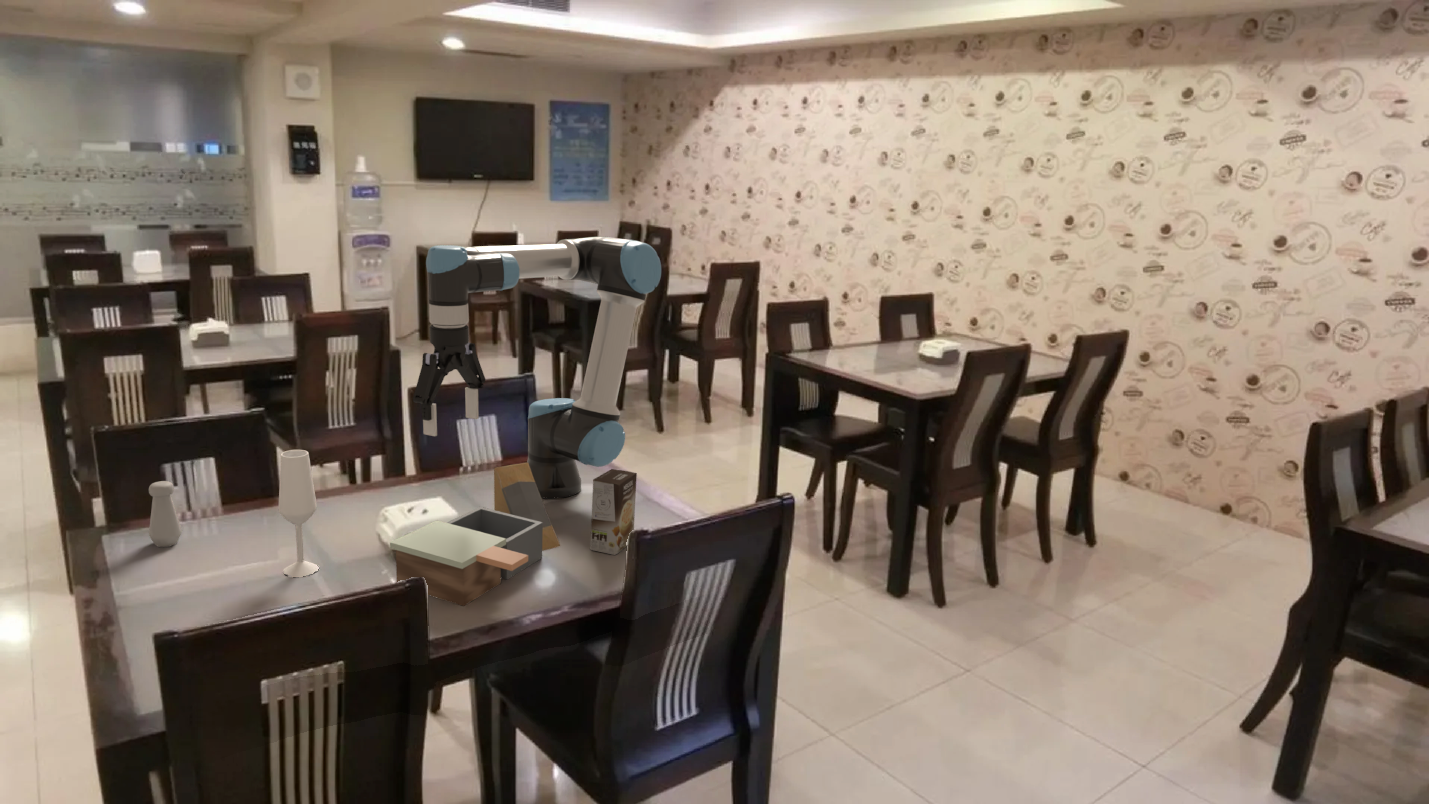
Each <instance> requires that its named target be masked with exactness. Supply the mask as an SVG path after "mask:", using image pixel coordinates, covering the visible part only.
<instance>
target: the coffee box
mask: <svg viewBox="0 0 1429 804" xmlns="http://www.w3.org/2000/svg"><path fill="white" fill-rule="evenodd" d="M637 477H638V474H637V472H633V471H628V470H622V469H615V468H611V469H609V470H607V471H606V472H604V473H602V474H600V475H598V476H597V477H595V478H593V479H592V497H591V498H592V499H591V500H592V503H591V504H592V505H591V524H590V548H589V549H590V550H591V551H594V552H599V553H603V554H604V553H605V554H608V555H611V556H615V555H617V554H619V553H620V552H622V551H623V550H624V549H625V548H626V547H627V546H626V542H627V539H628V536H629V533H630V532H631V531H632V530H634V531H635V515H636V514H635V513H636V511H635V510H636V498H637V497H636V495H637V493H636V492H637ZM623 548H624V549H623Z"/></svg>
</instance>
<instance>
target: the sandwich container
mask: <svg viewBox="0 0 1429 804" xmlns="http://www.w3.org/2000/svg"><path fill="white" fill-rule="evenodd" d="M493 480H494V481H493V490H494V491H493V492H494V494H493V495H494V496H493V499H494V500H493V501H494V503H493V505H494V506H493V507H494V509H493V510H496V511H499V512H503V513H507V514H511V515H515V516H519V517H523V518H527V519H531V520H535V521H539V522H543V535H542V552H544V551H547V550H551V549H556V548H559V547H561V543H560V540H559V538H558V537H557V534H556V531H555V528H554V527H553V524H552V521H551V520H550V517H549V515H548V511H547V510H546V506H545V504H544V500H543V498H541V496H540V493H539V491H538V488H537V486H536V483H535V480H534V478H533V475H532V472H531V469H530V466H529V464H528V463H527V462H522V463H514V464H510V465H508V464H507V465H503V466H498V467H494V468H493Z"/></svg>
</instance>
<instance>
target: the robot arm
mask: <svg viewBox="0 0 1429 804" xmlns="http://www.w3.org/2000/svg"><path fill="white" fill-rule="evenodd" d="M425 259H426V260H425V265H426V266H425V267H426V273H427V288H428V309H429V310H428V311H429V313H428V315H429V316H428V317H429V323H430V324H431V325H430V326H429V343H430V344H431V345H433V348H434V349H433V353H429V352H424V353H423V354H422V365H421V367H420V372H419V376H418V379H417V383H416V385H415V390H414V393H413V396H412V402H414V403H416V404H420V405H421V420H422V425H423V428H422V429H423V432H422V433H423V435H427V436H432V437H437V436H438V423H437V422H438V421H437V419H438V418H437V403H434V402H435V400H436V397H437V395H438V393H439V390H440V388H441V386H442V383H443V381H444V379H445V377H446V376H448V375H449V374H450V373H451V372H453V371H454V370H457V372H458V373H459V375H460V377H461V378H462V379H463V380H464V382H465V384H466V385H467V386H468V387H465V388H464V393H465V394H464V395H465V396H464V397H465V401H464V402H465V418H467V419H472V420H478V419H479V418H480V417H479V400H480V395H479V394H480V390H479V389H483V388H484V384H485V383H486V377H485V374H484V371H483V368H482V366H481V363H480V360H479V357H478V353H477V351H476V344H475V343H473V342H470V328H469V326H468V325H467V324H469V321H470V319H469V318H470V316H469V294H473V293H481V292H492V291H495V292H496V291H499V292H502V291H503V290H510V289H513V288H515V287H516V286H517V285H518V283H519V279H533V278H535V279H536V278H549V277H550V278H551V277H559V279H562V280H563V281H572V280H573V281H582V282H587V283H593V284H595V285H596V284H597V288H596V292H597V294H598V296H599V297H600V305H599V309H598V313H597V314H598V315H597V319H596V323H595V328H594V333H593V337H592V340H591V341H592V342H591V347H590V350H589V351H590V352H589V356H588V360H587V361H588V362H587V366H586V369H585V370H586V371H585V374H584V375H585V376H584V379H583V383H582V389H581V393H580V397H579V398H578V399H577V400H575V399H573V398H566V397H565V398H564V397H561V398H560V397H557V398H544V399H539V400H536V401H534V402H532V403H531V404H530V405H529V407H528V415H527V416H528V417H527V460H526V461H527V462H526V463H528V464H529V466H530V469H531V472H532V475H533V478H534V480H535V483H536V486H537V488H538V491H539V493H540V496H541V498H542V499H563V498H567V497H572V496H575V495H576V494H578V493H580V492H581V490H582V478H581V477H580V473H579V469H578V465H577V462H580V463H582V464H583V465H586V466H592V467H595V468H599V467H606V466H608V465H609V464H611V463H612V462H613V461H614V460H616V459H617V458H618V457H619V455H620V454H621V452H622V450H623V449H624V445H625V442H626V432H625V430H624V427H623V426H622V424H620V418H621V412H620V410H619V408H618V407H617V401H618V396H619V391H620V387H621V382H622V378H623V374H624V373H623V372H624V369H625V364H626V359H627V355H628V350H629V345H630V341H631V336H632V332H633V327H634V322H635V317H636V312H637V309H638V307H639V306H641V305H642V304H644V303H645V302H646V297H647V295H648V294H649V293H652V292H654V290H655V288H657V287H658V286H659V284H660V280H661V277H662V264H661V260H660V257H659V256H658V253H657V251H656V250H655V248H653V246H651V245H650V244H648V243H646V242H642V241H639V240H634V239H624V238H618V237H610V236H601V235H599V236H588V237H580V238H579V237H578V238H568V239H567V238H565V239H560V240H558V242H556V243H551V244H550V243H548V244H546V243H545V244H518V245H517V244H516V245H488V246H487V245H483V246H482V245H481V246H480V245H479V246H462V245H461V246H460V245H454V244H453V245H452V244H451V245H449V244H448V245H447V244H446V245H444V244H443V245H442V244H440V245H433V246H431V247H430V248H429V249H428V251H427V255H426V258H425ZM576 461H577V462H576Z"/></svg>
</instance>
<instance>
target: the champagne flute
mask: <svg viewBox="0 0 1429 804" xmlns="http://www.w3.org/2000/svg"><path fill="white" fill-rule="evenodd" d="M279 467H280V468H279V469H280V470H279V471H280V472H279V487H278V489H279V491H278V492H279V493H278V494H279V495H278V512H279V514H280V516H282V517H283V519H285V520H286V521H288V522H289V523H291V524H293V525H295V542H296V559H297V560H296V561H295V562H294V563H292V564H290V565H288V566H286V567H284V568H283V570H282V572H283V571H284V574H288V575H291V576H292V577H291V578H293V577H299V578H304V577H303V576H306V575H309V574H313V573H314V572H315V571H318V569H319V567H320V566H319V565H318V564H316V563H313V562H311V561H307V560H305V557H304V556H305V555H304V554H305V553H304V539H303V537H304V535H303V524H304V523H306V522H307V521H308V520H309V519H310V518H312V516H313V515H315V512H316V511H317V508H318V506H317V498H316V493H315V486H314V480H313V479H314V478H313V472H312V468H311V460H310V454H309V451H307V450H304V449H290V450H286V451H282V452H281V454H280V465H279ZM317 565H318V566H319V567H318V566H317ZM319 570H320V569H319ZM318 572H319V571H318ZM284 574H283V575H284ZM313 575H314V574H313ZM306 577H307V576H306Z"/></svg>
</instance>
